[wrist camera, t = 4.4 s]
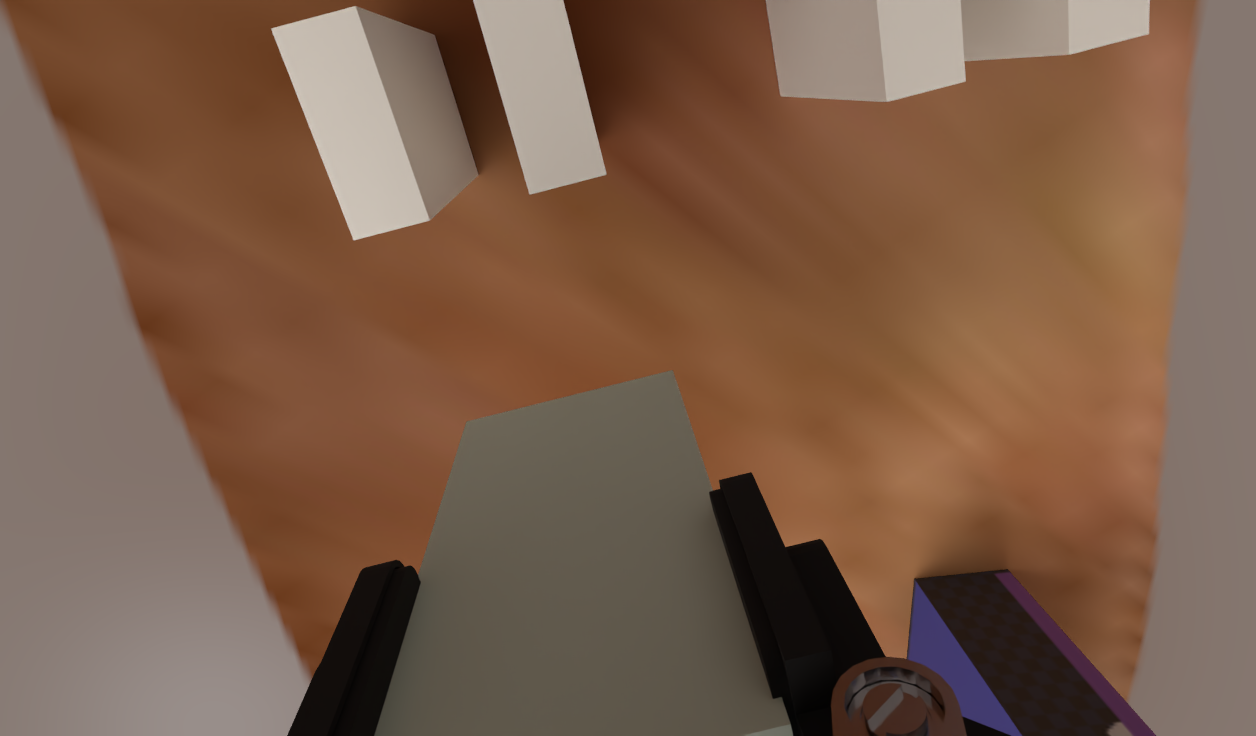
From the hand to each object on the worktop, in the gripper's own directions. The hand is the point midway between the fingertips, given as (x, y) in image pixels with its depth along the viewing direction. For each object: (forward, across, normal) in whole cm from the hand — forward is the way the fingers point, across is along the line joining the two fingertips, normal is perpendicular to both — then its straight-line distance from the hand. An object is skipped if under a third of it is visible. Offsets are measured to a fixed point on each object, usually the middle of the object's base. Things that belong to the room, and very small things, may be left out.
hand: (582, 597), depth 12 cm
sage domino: (+6, 0, 0) cm, 6 cm away
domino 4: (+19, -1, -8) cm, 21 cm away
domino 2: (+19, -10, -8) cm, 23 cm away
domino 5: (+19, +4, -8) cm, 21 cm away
